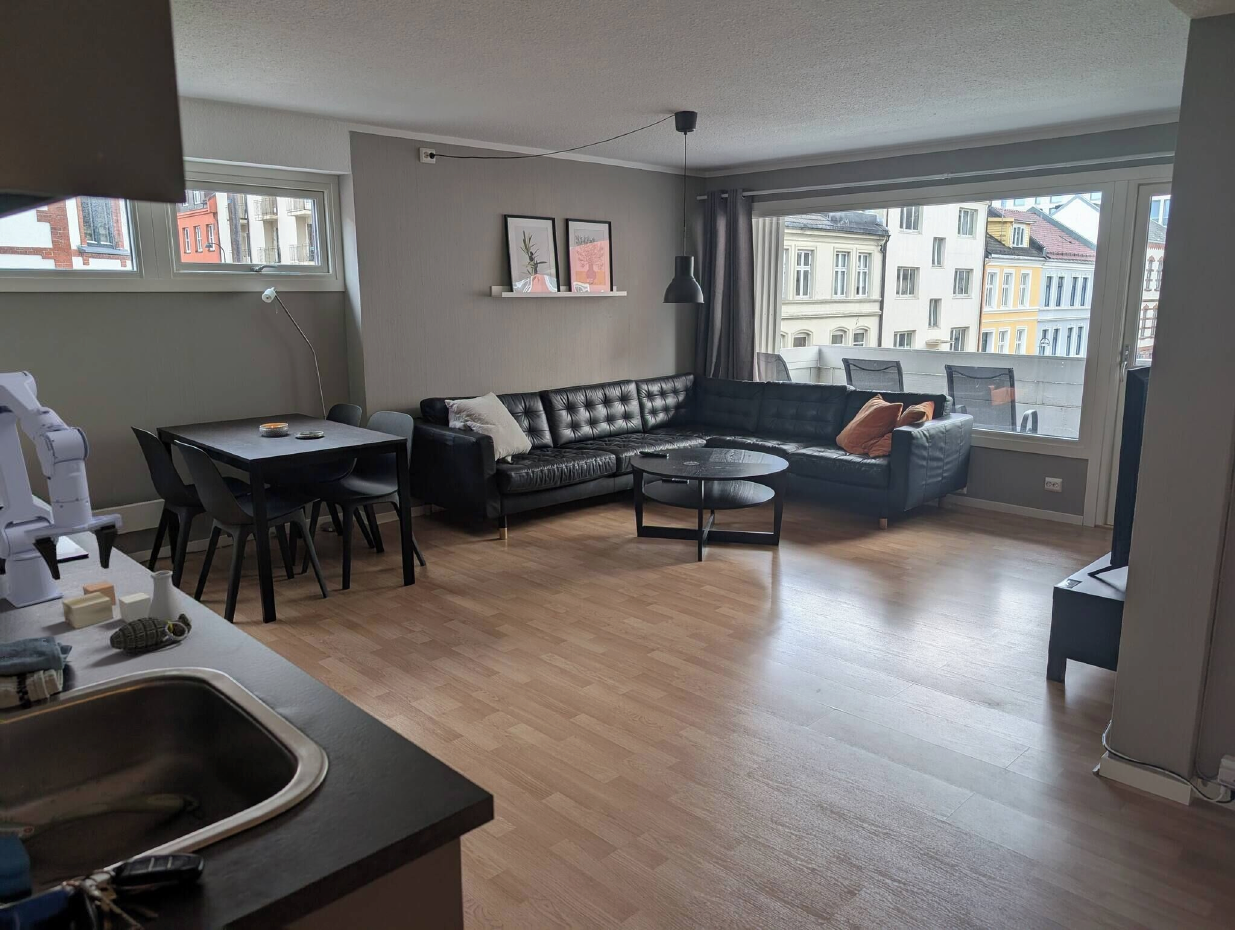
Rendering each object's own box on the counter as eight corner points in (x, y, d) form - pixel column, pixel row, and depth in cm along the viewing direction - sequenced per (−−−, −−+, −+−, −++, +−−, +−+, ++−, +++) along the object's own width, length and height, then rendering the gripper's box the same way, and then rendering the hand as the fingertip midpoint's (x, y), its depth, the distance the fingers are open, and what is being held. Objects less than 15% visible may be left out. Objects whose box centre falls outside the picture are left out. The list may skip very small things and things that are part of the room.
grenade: (110, 619, 137) (184, 601, 147) (102, 637, 140) (176, 618, 149) (125, 651, 135) (200, 630, 145) (117, 668, 138) (191, 647, 147)
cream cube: (121, 618, 155) (118, 598, 154) (144, 612, 158) (142, 592, 157) (129, 624, 153) (126, 603, 152) (153, 617, 156) (150, 597, 155)
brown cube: (85, 606, 162) (82, 586, 161) (108, 600, 165) (106, 580, 164) (93, 611, 159) (90, 591, 159) (116, 605, 162) (113, 585, 161)
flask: (172, 636, 147) (164, 581, 145) (135, 633, 148) (128, 579, 146) (200, 620, 154) (193, 567, 152) (165, 618, 155) (158, 565, 153)
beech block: (65, 621, 155) (62, 600, 154) (101, 612, 159) (98, 591, 158) (76, 629, 151) (73, 608, 150) (113, 619, 155) (110, 599, 154)
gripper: (27, 510, 140) (40, 588, 143) (123, 494, 150) (133, 567, 153) (15, 503, 145) (28, 579, 147) (109, 488, 155) (119, 559, 158)
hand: (81, 573), depth 151 cm, fingers open, 7 cm apart
